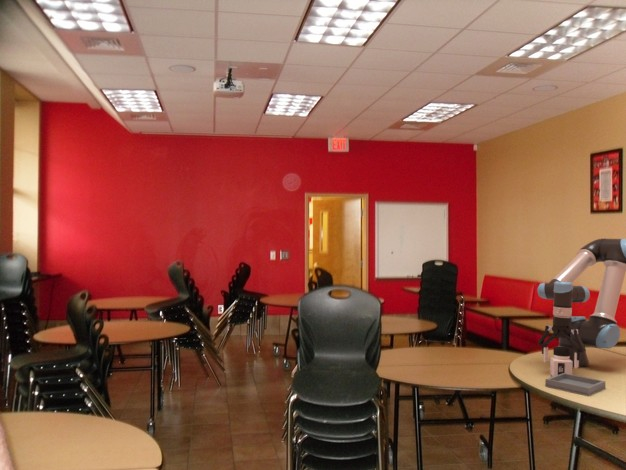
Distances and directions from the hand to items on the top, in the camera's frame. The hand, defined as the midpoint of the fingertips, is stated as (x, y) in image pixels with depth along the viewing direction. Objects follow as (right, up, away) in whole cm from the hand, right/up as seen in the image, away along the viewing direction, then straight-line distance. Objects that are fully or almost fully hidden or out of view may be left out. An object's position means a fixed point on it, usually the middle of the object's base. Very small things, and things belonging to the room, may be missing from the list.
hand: (560, 364), depth 244 cm
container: (0, -5, 0) cm, 5 cm away
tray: (-2, -5, -18) cm, 19 cm away
